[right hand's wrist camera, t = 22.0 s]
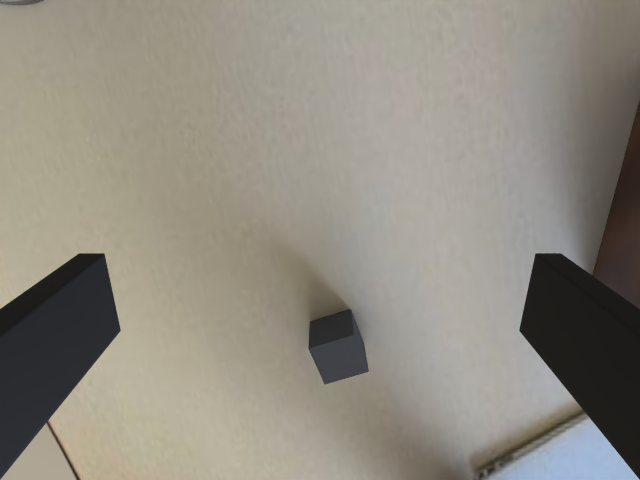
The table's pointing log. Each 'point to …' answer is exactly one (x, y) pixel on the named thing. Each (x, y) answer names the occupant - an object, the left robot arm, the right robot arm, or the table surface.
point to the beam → (624, 228)
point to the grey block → (337, 347)
